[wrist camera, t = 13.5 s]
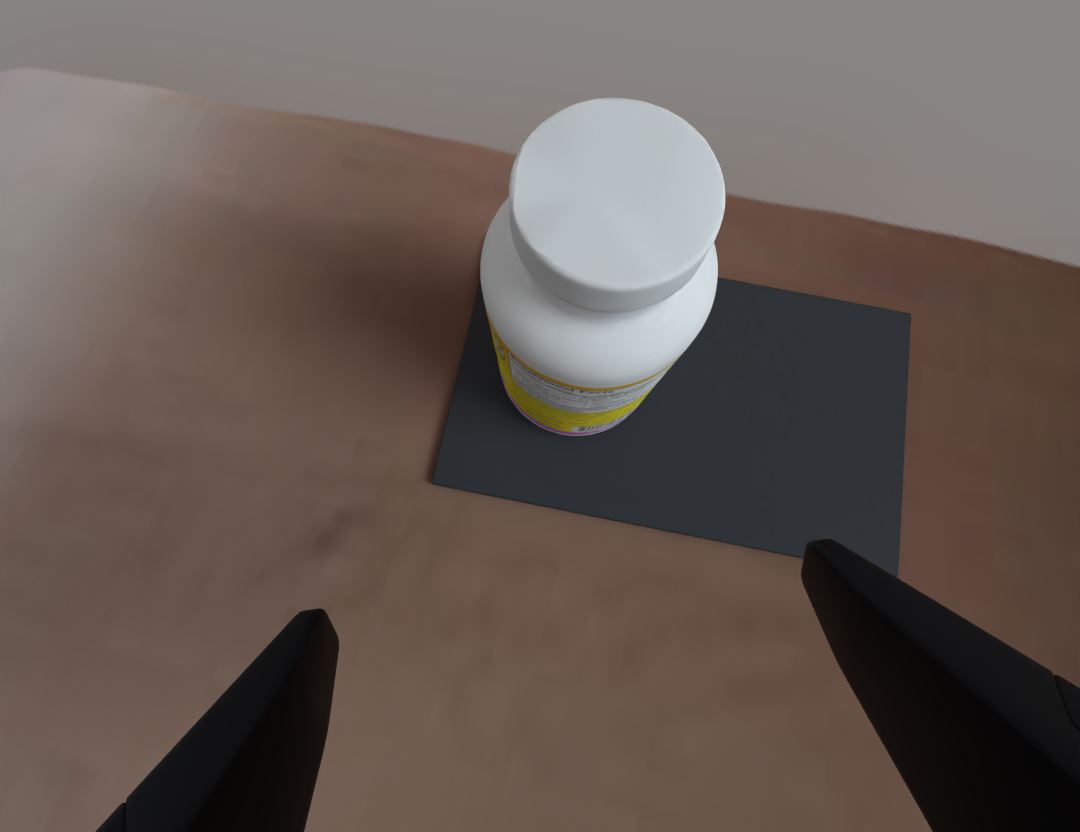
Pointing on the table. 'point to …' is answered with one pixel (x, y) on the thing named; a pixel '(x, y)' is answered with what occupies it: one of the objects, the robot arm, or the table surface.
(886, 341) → the desk mat
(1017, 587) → the table surface
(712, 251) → the supplement bottle
